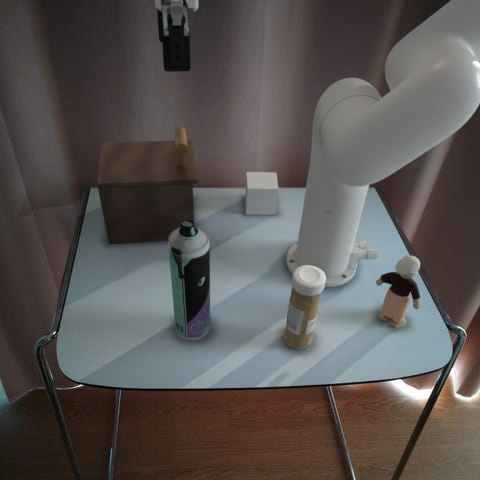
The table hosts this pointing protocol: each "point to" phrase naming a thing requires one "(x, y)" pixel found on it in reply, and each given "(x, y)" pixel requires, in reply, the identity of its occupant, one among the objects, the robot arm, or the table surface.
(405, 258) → the grandmother figurine
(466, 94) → the robot arm
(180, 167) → the lid
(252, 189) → the white cube
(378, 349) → the table surface
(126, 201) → the chest
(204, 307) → the spray can
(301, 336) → the sprinkles bottle
